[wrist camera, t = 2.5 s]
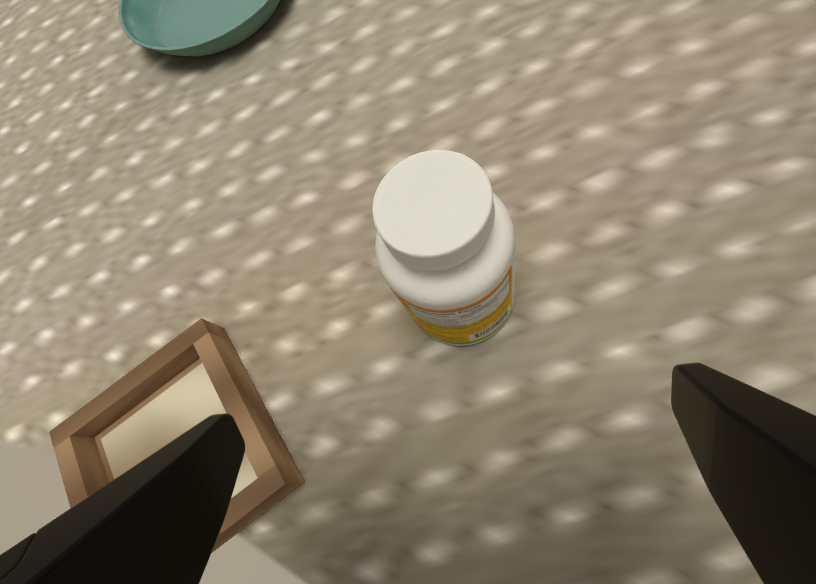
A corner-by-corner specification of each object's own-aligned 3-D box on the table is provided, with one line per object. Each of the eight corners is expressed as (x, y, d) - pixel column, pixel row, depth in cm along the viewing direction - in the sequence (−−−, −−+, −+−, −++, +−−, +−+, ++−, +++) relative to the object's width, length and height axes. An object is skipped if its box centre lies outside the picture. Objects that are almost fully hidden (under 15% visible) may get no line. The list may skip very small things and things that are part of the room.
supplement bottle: (423, 245, 25) (372, 127, 16) (521, 256, 23) (527, 133, 14) (401, 338, 23) (331, 265, 14) (505, 356, 22) (500, 288, 13)
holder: (304, 481, 22) (285, 484, 20) (138, 609, 21) (103, 623, 19) (223, 327, 26) (201, 318, 24) (82, 433, 25) (49, 431, 23)
